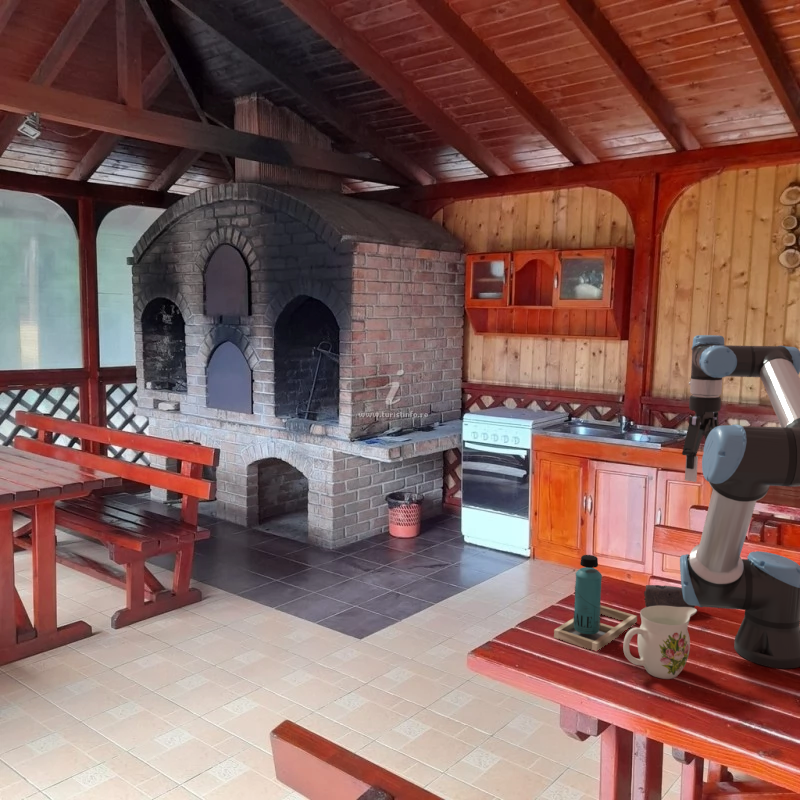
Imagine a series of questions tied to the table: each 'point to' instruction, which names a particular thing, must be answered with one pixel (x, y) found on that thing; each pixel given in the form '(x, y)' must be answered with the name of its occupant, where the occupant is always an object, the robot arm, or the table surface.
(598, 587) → the beverage bottle
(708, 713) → the table surface
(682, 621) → the pitcher
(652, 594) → the perforated stone tool
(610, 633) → the bottle rack
